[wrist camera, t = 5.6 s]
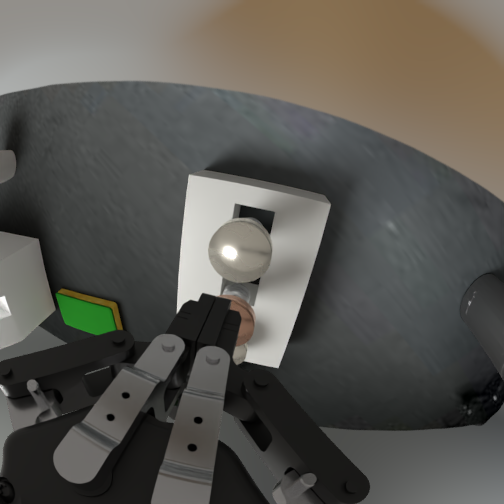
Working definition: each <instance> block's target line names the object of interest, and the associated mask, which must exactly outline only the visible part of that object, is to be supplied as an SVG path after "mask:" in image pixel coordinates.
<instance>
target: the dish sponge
mask: <svg viewBox="0 0 504 504" xmlns="http://www.w3.org/2000/svg"><path fill="white" fill-rule="evenodd" d="M56 298H57V301H58V304H59V307H60V310H61V313H62V316H63V319H64V322H65V323H66V324H67V325H69V326H72V327H75V328H78V329H80V330H83V331H86V332H89V333H92V334H95V335H100V334H103V333H107V332H110V331H114V330H123V328H122V324H121V320H120V316H119V311H118V307H117V304H116V303H115V302H112V301H108V300H104V299H100V298H96V297H92V296H88V295H84V294H80V293H77V292H73V291H69V290H66V289H61V290H59V291H58V292H57V293H56Z"/></svg>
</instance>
